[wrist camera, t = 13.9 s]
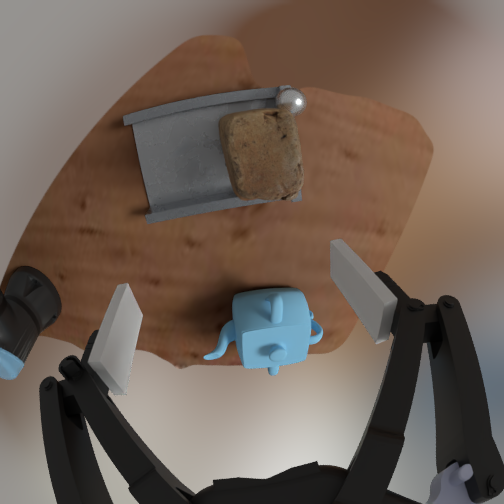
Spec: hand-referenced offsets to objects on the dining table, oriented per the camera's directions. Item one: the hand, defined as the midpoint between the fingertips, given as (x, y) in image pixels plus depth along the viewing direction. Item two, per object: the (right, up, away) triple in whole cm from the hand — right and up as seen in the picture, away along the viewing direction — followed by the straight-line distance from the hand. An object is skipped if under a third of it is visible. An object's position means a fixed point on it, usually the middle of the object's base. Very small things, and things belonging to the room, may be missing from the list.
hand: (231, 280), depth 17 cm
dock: (-4, +18, +24) cm, 30 cm away
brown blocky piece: (0, +18, +24) cm, 30 cm away
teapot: (+2, -10, +39) cm, 40 cm away
